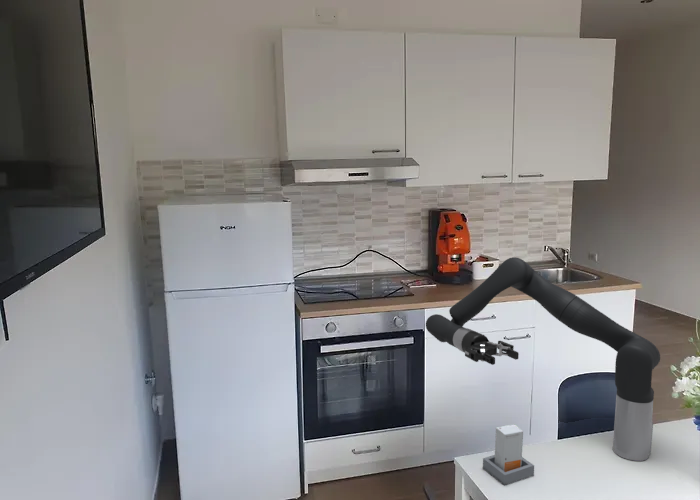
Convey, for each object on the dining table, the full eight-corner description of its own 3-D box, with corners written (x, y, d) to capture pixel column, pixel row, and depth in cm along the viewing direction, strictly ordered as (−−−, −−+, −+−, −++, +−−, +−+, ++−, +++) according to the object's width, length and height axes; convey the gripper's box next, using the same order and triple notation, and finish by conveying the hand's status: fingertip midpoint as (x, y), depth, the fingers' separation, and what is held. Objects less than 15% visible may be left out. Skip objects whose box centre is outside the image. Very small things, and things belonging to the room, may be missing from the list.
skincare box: (502, 476, 140) (503, 434, 138) (493, 467, 144) (495, 427, 142) (522, 472, 142) (523, 431, 140) (513, 463, 146) (514, 423, 144)
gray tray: (511, 459, 149) (511, 449, 148) (533, 475, 141) (534, 465, 140) (482, 468, 145) (483, 458, 144) (504, 485, 137) (504, 475, 136)
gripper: (451, 334, 161) (486, 350, 146) (488, 327, 167) (525, 342, 152) (451, 357, 162) (486, 375, 148) (488, 349, 168) (524, 366, 154)
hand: (506, 358), depth 150 cm, fingers open, 8 cm apart
